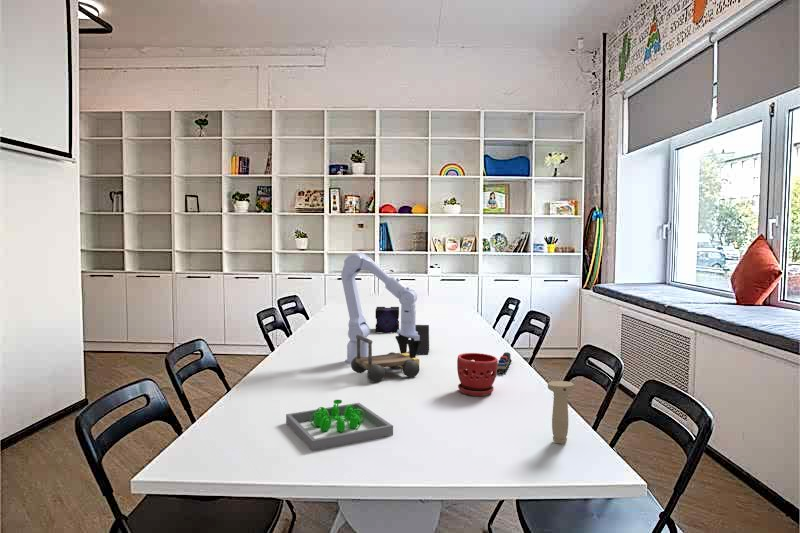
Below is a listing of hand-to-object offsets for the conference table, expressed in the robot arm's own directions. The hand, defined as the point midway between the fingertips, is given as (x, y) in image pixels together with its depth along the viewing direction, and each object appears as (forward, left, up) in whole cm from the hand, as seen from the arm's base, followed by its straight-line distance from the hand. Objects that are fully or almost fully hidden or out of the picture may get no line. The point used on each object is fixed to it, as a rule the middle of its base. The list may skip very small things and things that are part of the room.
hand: (408, 355), depth 218 cm
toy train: (+20, +32, -5) cm, 38 cm away
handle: (+86, -4, -4) cm, 86 cm away
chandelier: (+48, -49, -5) cm, 68 cm away
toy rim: (+51, -50, -4) cm, 71 cm away
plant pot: (+41, +3, -4) cm, 42 cm away
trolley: (+7, -14, -4) cm, 16 cm away
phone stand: (-19, +17, -4) cm, 26 cm away
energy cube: (-72, +27, -5) cm, 77 cm away
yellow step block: (0, +1, -4) cm, 4 cm away
